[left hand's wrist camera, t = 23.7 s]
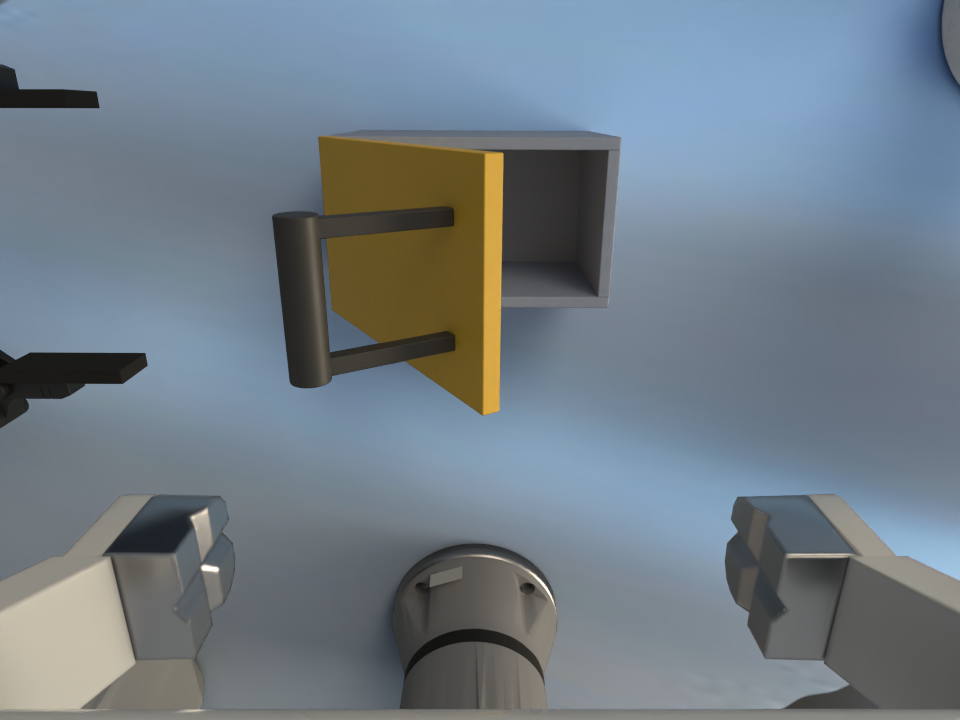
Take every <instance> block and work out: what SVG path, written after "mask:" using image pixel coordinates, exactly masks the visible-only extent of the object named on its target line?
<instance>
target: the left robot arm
mask: <svg viewBox="0 0 960 720" xmlns="http://www.w3.org/2000/svg"><path fill="white" fill-rule="evenodd" d="M942 41H943V47H944V52H945V56H946V59H947V62H948V65H949V68H950V70H951V72H952V74H953V76H954V77H955V79H956V81H957V82H958V84H959V85H960V0H944V5H943V13H942ZM228 520H229V517H228V512H227V507H226V502H225V501H224V500H223V498H222V497H221V496H207V495H155V494H130V495H124V496H120V497H119V498H118V499H117V500H116V501H115V502H114V503H113V504H112V505H111V506H110V507H109V508H108V509H107V510H106V511H105V513H104V514H103V515H102V516H101V517H100V518H99V519H98V520H97V521H96V522H95V523H94V524H93V525H92V526H91V527H90V528H89V529H88V531H87V532H86V533H85V534H84V535H83V536H82V537H81V538H80V539H79V540H78V541H77V542H76V543H75V544H74V545H73V546H72V548H71V549H70V550H69V551H68V552H67V553H66V554H65V555H64V556H52V557H50V558H48V559H46V560H44V561H42V562H39V563H37V564H35V565H33V566H31V567H29V568H27V569H25V570H22V571H20V572H18V573H16V574H14V575H12V576H10V577H7V578H5V579H3V580H1V581H0V720H960V581H959V580H957V579H955V578H952V577H950V576H948V575H946V574H944V573H942V572H940V571H938V570H935V569H933V568H931V567H929V566H927V565H925V564H923V563H921V562H918V561H916V560H914V559H912V558H910V557H908V556H896V555H895V554H894V553H893V552H892V551H891V550H890V549H889V547H888V546H887V545H886V544H885V543H884V542H883V541H882V540H881V539H880V538H879V537H878V536H877V535H876V534H875V533H874V532H873V530H872V529H871V528H870V527H869V526H868V525H867V524H866V523H865V522H864V521H863V520H862V519H861V518H860V517H859V516H858V515H857V513H856V512H855V511H854V510H853V509H852V508H851V507H850V506H849V505H848V504H847V503H846V502H845V501H844V500H843V499H842V498H841V497H839V496H837V495H835V494H816V495H793V496H752V497H737V499H736V501H735V503H734V505H733V511H732V516H731V520H732V522H733V524H734V525H735V527H736V529H737V530H738V533H737V534H736V535H735V536H734V537H733V538H732V539H731V540H730V541H729V542H728V543H727V548H726V556H725V568H726V579H727V582H728V586H729V589H730V592H731V594H732V596H733V598H734V600H735V602H736V604H738V605H739V606H741V607H742V608H744V609H745V610H746V611H748V612H749V618H748V624H747V625H748V627H749V629H750V631H751V633H752V635H753V637H754V639H755V640H756V642H757V644H758V646H759V648H760V650H761V652H762V654H763V656H764V657H765V659H787V660H823V661H824V664H826V665H827V666H828V667H829V668H831V669H832V670H833V671H834V672H835V673H837V674H838V675H839V676H840V677H842V678H843V679H844V680H845V681H847V682H848V683H849V684H850V685H852V686H853V687H854V688H855V689H857V690H858V691H859V692H860V693H861V694H863V695H864V696H865V697H866V698H868V699H869V700H870V701H871V702H873V703H874V704H875V705H876V706H877V707H879V708H880V709H80V708H81V707H83V706H84V705H85V704H86V703H88V702H89V701H90V700H91V699H93V698H94V697H95V696H96V695H98V694H99V693H100V692H101V691H103V690H104V689H105V688H106V687H107V686H109V685H110V684H111V683H112V682H114V681H115V680H116V679H117V678H119V677H120V676H121V675H122V674H124V673H125V672H126V671H127V670H129V669H130V668H131V667H132V666H134V665H135V664H136V661H137V660H171V659H195V658H196V656H197V654H198V652H199V650H200V648H201V646H202V644H203V642H204V640H205V639H206V637H207V635H208V633H209V631H210V629H211V627H212V625H213V624H212V618H211V612H212V611H214V610H215V609H217V608H218V607H219V606H221V605H222V604H224V602H225V600H226V598H227V596H228V594H229V592H230V590H231V585H232V581H233V576H234V572H235V554H234V548H233V543H232V542H231V541H230V540H229V539H228V538H227V537H226V536H225V535H224V534H223V533H222V530H223V529H224V527H225V525H226V524H227V522H228Z"/></svg>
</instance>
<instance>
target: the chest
mask: <svg viewBox="0 0 960 720" xmlns="http://www.w3.org/2000/svg"><path fill="white" fill-rule="evenodd" d="M330 136H336V137H346V138H357V139H367V140H377V141H388V142H398V143H408V144H419V145H429V146H439V147H450V148H460V149H470V150H481V151H491V152H501V153H503V209H502V269H501V307H524V308H608V306H609V294H610V281H611V268H612V255H613V242H614V229H615V216H616V203H617V190H618V177H619V165H620V152H621V151H620V149H621V137H616V136H611V135H606V134H601V133H595V132H590V131H390V130H360V131H354V132H348V133H342V134H336V135H330Z"/></svg>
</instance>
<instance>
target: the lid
mask: <svg viewBox="0 0 960 720" xmlns="http://www.w3.org/2000/svg"><path fill="white" fill-rule="evenodd" d="M318 139H319V152H320V164H321V177H322V190H323V202H324V215H323V216H319V215H318V214H317V213H314V212H303V211H297V212H283V213H277V214H274V215H273V216H272V220H273V229H274V239H275V248H276V257H277V267H278V276H279V285H280V295H281V304H282V313H283V323H284V332H285V341H286V351H287V360H288V369H289V379H290V383H291V385H293V386H295V387H298V388H315V387H320V386H323V385H326V384H328V383H329V382H330V381H331V379H332V376H333V375H338V374H343V373H348V372H353V371H358V370H363V369H368V368H373V367H378V366H382V365H387V364H392V363H397V362H402V361H406V362H407V363H408V364H410V365H411V366H413V367H414V368H416V369H417V370H418V371H420V372H421V373H423V374H424V375H426V376H427V377H428V378H430V379H431V380H433V381H434V382H436V383H437V384H438V385H440V386H441V387H443V388H444V389H446V390H447V391H448V392H450V393H451V394H453V395H454V396H456V397H457V398H458V399H460V400H461V401H463V402H464V403H465V404H467V405H468V406H470V407H471V408H473V409H474V410H475V411H477V412H478V413H480V414H481V415H487V414H491V413H495V412H498V411H499V389H500V329H501V269H502V209H503V153H501V152H491V151H481V150H470V149H460V148H450V147H439V146H429V145H419V144H408V143H398V142H388V141H377V140H367V139H357V138H346V137H336V136H319V137H318ZM321 239H326V241H327V253H328V266H329V279H330V291H331V304H332V310H333V311H334V312H336V313H337V314H339V315H340V316H341V317H343V318H344V319H346V320H347V321H349V322H350V323H351V324H353V325H354V326H356V327H357V328H359V329H360V330H361V331H363V332H364V333H366V334H367V335H369V336H370V337H371V338H373V339H374V340H376V341H377V342H379V344H373V345H368V346H362V347H357V348H352V349H346V350H341V351H335V352H330V349H329V337H328V325H327V313H326V300H325V288H324V276H323V264H322V252H321Z"/></svg>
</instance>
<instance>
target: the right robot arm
mask: <svg viewBox="0 0 960 720" xmlns="http://www.w3.org/2000/svg"><path fill="white" fill-rule="evenodd" d="M0 108H99V103H98V97H97V92H94V91H79V90H64V89H19V87H18V83H17V78H16V74H15V69H12V68H10V67H7V66H5V65H0ZM146 366H148V365H147V360H146V354H145V353H29V354H27V355H25V356H23V357H21V358H19V359H17V360H15V359H13V358H12V357H10V356H9V355H7V354H6V353H4V352H3V351H1V350H0V428H1V427H3V426H5V425H6V424H8V423H9V422H11V421H13V420H14V419H16V418H17V417H19V416H20V415H22V414H23V413H25V412H26V411H27V410H28V409H29V404H28V402H27V400H26V399H43V398H45V399H51V398H52V399H62V398H65V397H67V396H70V395H72V394H73V393H75V392H76V391H78V390H79V389H81V388H82V387H84V386H85V384H123V383H125V382H126V381H127V380H129V379H130V378H131V377H133V376H134V375H135V374H137V373H138V372H140V371H141V370H142V369H144V368H145V367H146ZM392 624H393V631H394V636H395V640H396V644H397V647H398V651H399V655H400V659H401V663H402V666H403V670H404V674H405V677H404V685H403V690H402V698H401V705H400V709H547V700H546V691H545V683H544V674H545V670H546V667H547V663H548V660H549V656H550V653H551V649H552V646H553V642H554V639H555V635H556V631H557V612H556V605H555V598H554V595H553V591H552V589H551V586H550V584H549V582H548V581H547V579H546V578H545V576H544V575H543V573H542V572H541V571H540V570H539V569H538V568H537V567H536V566H535V565H534V564H533V563H531V562H530V561H529V560H527V559H526V558H524V557H523V556H521V555H519V554H517V553H515V552H513V551H510V550H508V549H504V548H501V547H497V546H492V545H485V544H464V545H457V546H452V547H448V548H445V549H442V550H439V551H437V552H435V553H433V554H431V555H429V556H427V557H425V558H424V559H422V560H421V561H420V562H418V563H417V564H416V565H415V566H414V567H413V568H412V569H411V570H410V571H409V572H408V573H407V574H406V576H405V577H404V579H403V580H402V582H401V584H400V586H399V588H398V591H397V594H396V598H395V604H394V610H393V617H392Z"/></svg>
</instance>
